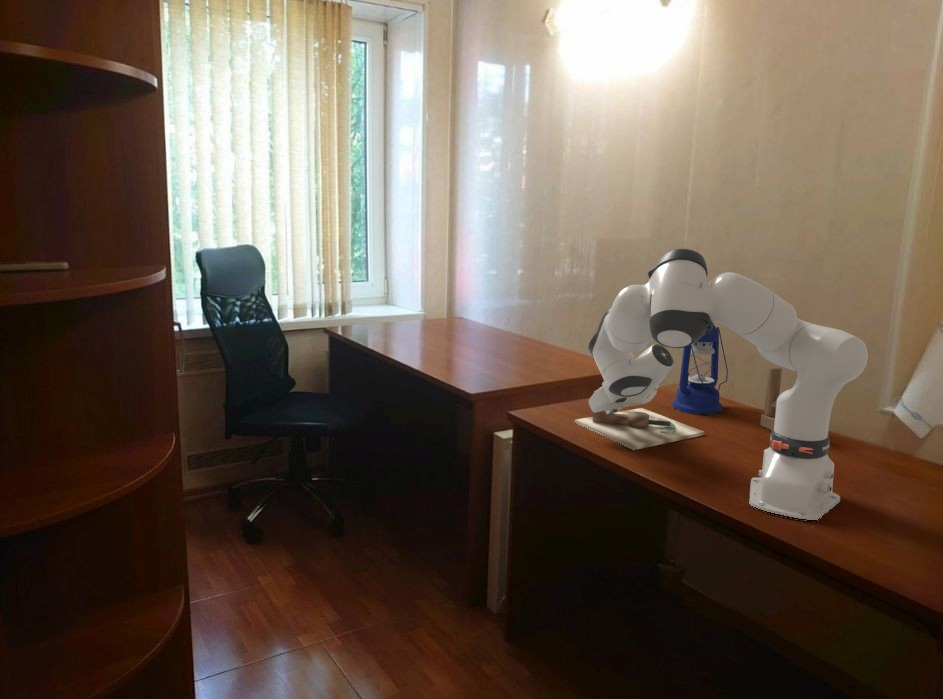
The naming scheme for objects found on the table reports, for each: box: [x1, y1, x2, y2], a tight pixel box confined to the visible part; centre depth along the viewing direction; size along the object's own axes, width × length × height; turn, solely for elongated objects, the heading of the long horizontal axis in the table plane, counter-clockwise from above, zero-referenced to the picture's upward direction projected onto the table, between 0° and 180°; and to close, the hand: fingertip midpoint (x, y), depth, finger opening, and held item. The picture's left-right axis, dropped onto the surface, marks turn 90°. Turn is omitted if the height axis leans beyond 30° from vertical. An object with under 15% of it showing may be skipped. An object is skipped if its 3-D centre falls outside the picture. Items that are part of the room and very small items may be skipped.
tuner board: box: [574, 407, 705, 451], centre depth 206 cm, size 26×26×1 cm
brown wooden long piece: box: [592, 390, 671, 428], centre depth 205 cm, size 22×6×9 cm, turn 74°
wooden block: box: [760, 365, 783, 432], centre depth 203 cm, size 4×11×18 cm, turn 16°
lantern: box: [672, 322, 729, 415], centre depth 224 cm, size 17×15×30 cm
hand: (610, 411), depth 205 cm, fingers closed
